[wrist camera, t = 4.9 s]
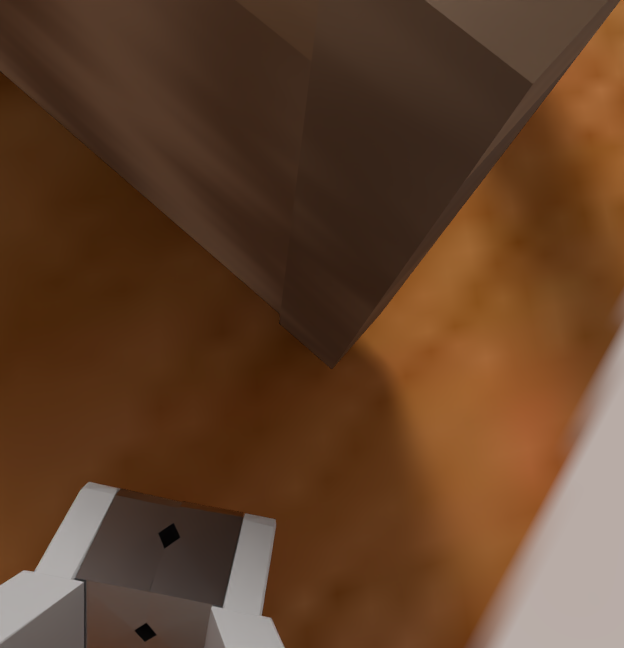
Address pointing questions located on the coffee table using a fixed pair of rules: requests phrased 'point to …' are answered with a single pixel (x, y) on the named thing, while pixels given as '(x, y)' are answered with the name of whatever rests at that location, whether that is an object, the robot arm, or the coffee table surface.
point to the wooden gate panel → (300, 125)
